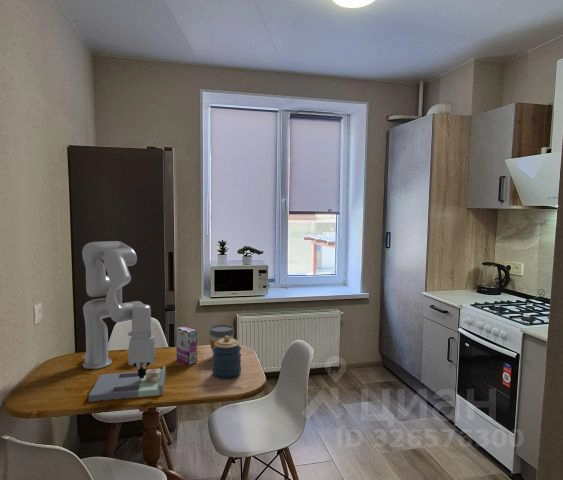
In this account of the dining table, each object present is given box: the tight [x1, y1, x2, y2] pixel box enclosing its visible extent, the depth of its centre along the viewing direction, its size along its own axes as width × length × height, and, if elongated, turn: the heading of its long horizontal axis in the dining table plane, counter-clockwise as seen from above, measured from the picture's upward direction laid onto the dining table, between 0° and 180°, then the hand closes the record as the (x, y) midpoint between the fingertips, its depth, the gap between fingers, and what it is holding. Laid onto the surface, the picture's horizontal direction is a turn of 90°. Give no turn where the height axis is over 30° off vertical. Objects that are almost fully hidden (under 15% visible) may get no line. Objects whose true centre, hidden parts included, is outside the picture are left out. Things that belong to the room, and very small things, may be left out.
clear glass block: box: [146, 368, 161, 383], centre depth 163 cm, size 5×5×4 cm
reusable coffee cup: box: [208, 324, 235, 355], centre depth 197 cm, size 13×13×15 cm
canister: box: [211, 336, 242, 380], centre depth 176 cm, size 13×13×18 cm
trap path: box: [88, 365, 167, 402], centre depth 162 cm, size 27×20×4 cm
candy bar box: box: [176, 326, 198, 366], centre depth 191 cm, size 11×5×16 cm, turn 47°
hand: (142, 377), depth 162 cm, fingers closed
